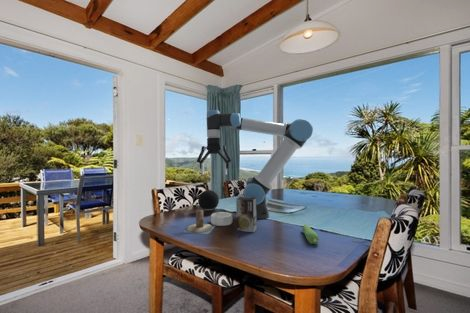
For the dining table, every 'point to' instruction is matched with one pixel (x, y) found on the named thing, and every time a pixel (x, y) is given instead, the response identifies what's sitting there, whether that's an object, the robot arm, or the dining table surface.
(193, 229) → the lid
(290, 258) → the dining table surface
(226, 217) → the bowl
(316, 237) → the green oval lump
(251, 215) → the coffee box
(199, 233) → the mat
